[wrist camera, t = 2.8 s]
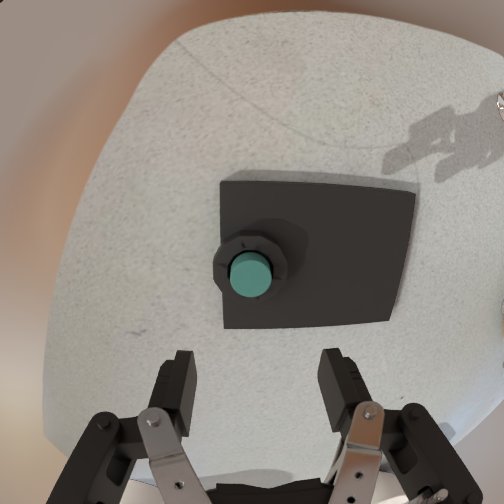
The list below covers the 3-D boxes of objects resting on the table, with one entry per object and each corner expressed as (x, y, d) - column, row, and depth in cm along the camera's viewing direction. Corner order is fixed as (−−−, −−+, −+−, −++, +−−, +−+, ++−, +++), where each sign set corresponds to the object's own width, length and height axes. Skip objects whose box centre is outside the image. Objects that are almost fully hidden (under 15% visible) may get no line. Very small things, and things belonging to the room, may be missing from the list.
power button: (231, 287, 23) (230, 297, 21) (230, 251, 22) (229, 260, 20) (269, 287, 23) (270, 297, 22) (270, 251, 22) (272, 260, 20)
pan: (339, 497, 57) (346, 527, 44) (245, 482, 45) (246, 529, 32) (411, 463, 51) (423, 494, 38) (346, 441, 39) (362, 498, 26)
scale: (219, 320, 27) (217, 338, 25) (214, 180, 22) (210, 185, 20) (384, 314, 28) (395, 328, 25) (408, 191, 23) (425, 197, 20)
